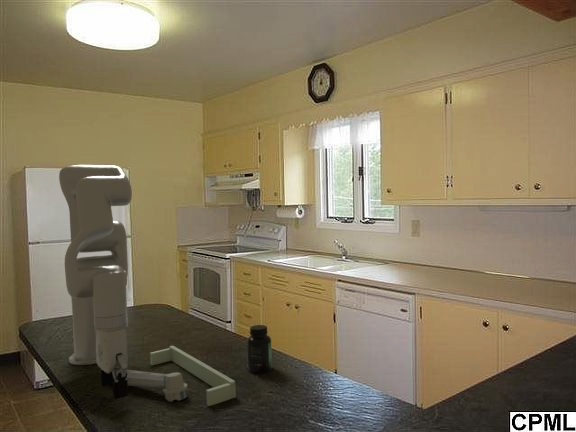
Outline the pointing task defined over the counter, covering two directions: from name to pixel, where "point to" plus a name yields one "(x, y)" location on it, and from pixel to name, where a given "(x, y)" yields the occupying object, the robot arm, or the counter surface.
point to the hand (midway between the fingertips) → (114, 390)
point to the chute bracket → (198, 373)
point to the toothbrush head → (160, 383)
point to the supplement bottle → (259, 350)
